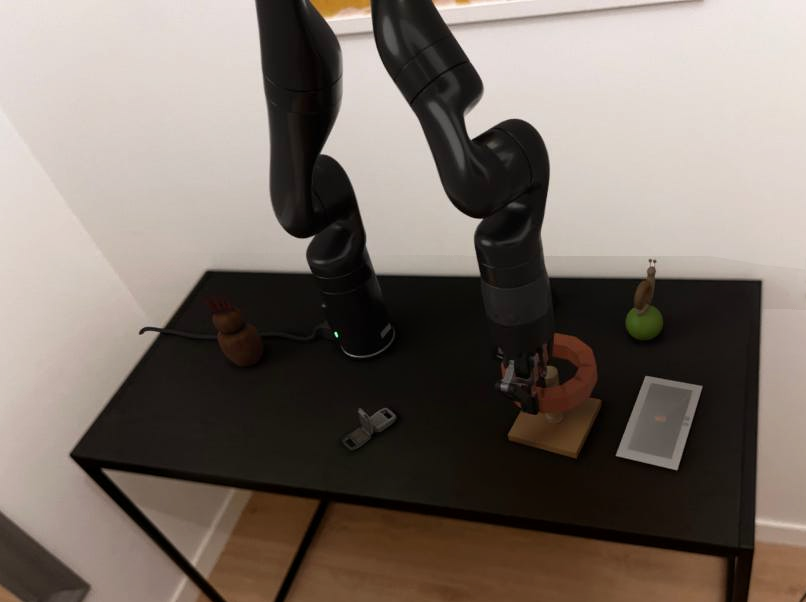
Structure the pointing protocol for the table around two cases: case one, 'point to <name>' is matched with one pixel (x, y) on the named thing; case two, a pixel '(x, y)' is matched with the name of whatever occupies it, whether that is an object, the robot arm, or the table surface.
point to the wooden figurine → (235, 333)
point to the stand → (556, 424)
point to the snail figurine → (645, 310)
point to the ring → (575, 387)
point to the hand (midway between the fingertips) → (534, 404)
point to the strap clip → (369, 427)
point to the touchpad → (660, 422)
